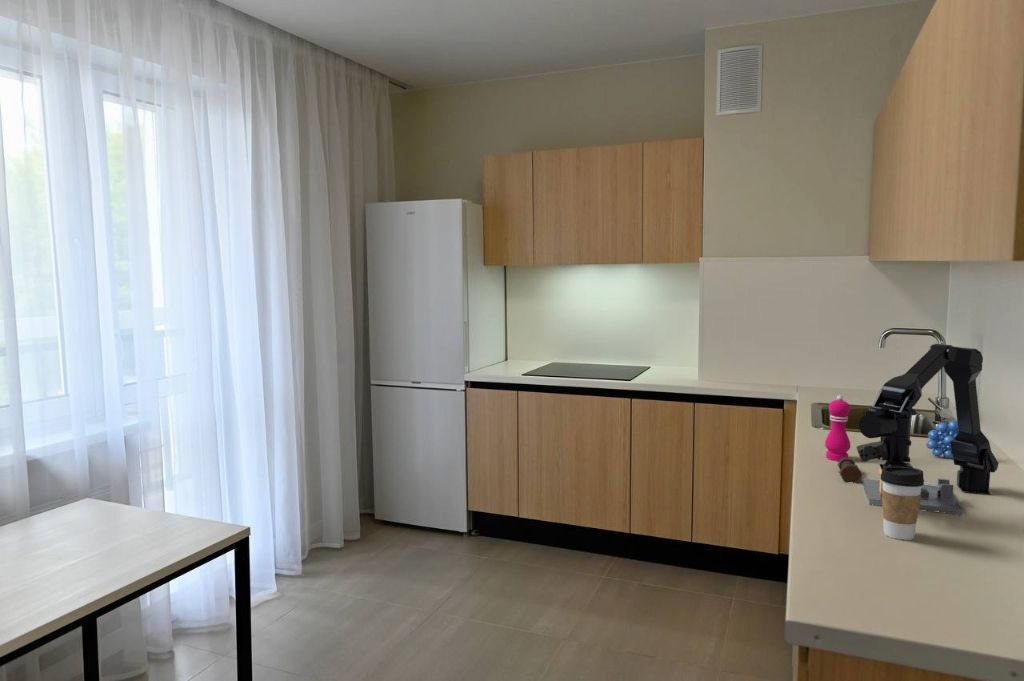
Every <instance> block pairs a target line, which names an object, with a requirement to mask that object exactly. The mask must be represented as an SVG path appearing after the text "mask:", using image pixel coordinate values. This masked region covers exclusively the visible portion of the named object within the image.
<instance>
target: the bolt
mask: <svg viewBox="0 0 1024 681" xmlns="http://www.w3.org/2000/svg"><path fill="white" fill-rule="evenodd" d="M837 467H838V468H839V471H838V473H839V475H840V478H842V480H843V482H844V481H845V482H844V483H848V482H853V483H852V484H857V483H858V482H859V481H860V479H862V477H863V474H862V471H861V470H860V468H859V466H858V465H857V464H856V462H854V459H853V458H851V457H848V458H846V457H844V458H841V460H840V461H838V463H837Z"/></svg>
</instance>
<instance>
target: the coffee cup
mask: <svg viewBox="0 0 1024 681" xmlns="http://www.w3.org/2000/svg"><path fill="white" fill-rule="evenodd" d="M880 479H881V480H882V484H883V487H882V505H883V506H882V519H883V521H882V522H883V534H884V535H885V536H886V535H887V536H886V537H888V536H889V538H891V537H892V538H891V539H894V538H898V539H897V540H899V539H911V540H913V539H914V538H915V535H916V534H915V533H916V526H917V522H918V516H919V511H920V510H919V505H920V500H921V487H922V485H924V481H925V478H924V471H923V470H922V469H920V468H915V467H913V468H909V467H884V468H883V469H882V473H881V478H880V477H879V480H880Z"/></svg>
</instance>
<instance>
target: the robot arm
mask: <svg viewBox="0 0 1024 681" xmlns="http://www.w3.org/2000/svg"><path fill="white" fill-rule="evenodd" d="M983 360H984V357H983V354H982V352H981V351H980V350H978V348H972V347H971V348H970V347H961V346H953V345H951V344H943V343H934V344H931V345H930V346H929V348H928V351H927V352H926V353H925V354H924V355H923V356H922V357H921V358H920V359H918V360H917V361H916V363H914V364H913V365H912V366H911V367H910V368H909V369H908V370H907V371H906V372H905V373H904V374H901V375H899V376H894V377H892V378H891V379H889V380H888V381H886V382H885V383H883V385H882V387H881V389H880V390H879V391H878V393H877V396H876V398H874V399H875V400H874V402H873V403H872V405H871V408H868V409H867V413H866V414H864V415H863V416H862V417H861V418H860V420H859V421H858V428H859V431H860V433H861V434H862V436H864V437H866V438H868V439H877V438H880V440H878V441H875V442H874V441H873V442H868V443H864V444H860V445H857V446H856V450H857V454H858V456H859V459H860V462H861V463H867V462H868V461H872V460H876V459H877V460H878V461H880V460H882V461H883V463H880V464H878V465H879V467H880V469H883V468H884V467H909V468H914V466H913V465H912V464H911V457H910V446H912V441H911V432H912V431H911V428H912V417H913V416H917V414H918V413H917V411H916V410H915V409H914V407H916V405H917V403H918V401H919V400H920V399H921V397H922V396H923V392H922V391H923V390H922V389H923V388H924V387H925V386H926V385H927V383H929V381H931V380H932V379H933V378H934V377H935V376H936V375H937V374H938V372H940V371H941V370H942V369H943V370H944V372H945V374H946V375H947V376H948V377H949V379H950V380H951V382H952V384H953V395H954V403H955V414H956V421H957V423H958V434H957V435H956V437H955V438H954V439H953V440H951V442H950V443H951V448H952V451H951V454H952V455H953V457H952V461H953V464H954V466H959V469H958V470H957V473H956V486H957V487H958V488H959V490H960V491H961V492H963V493H971V494H979V495H989V496H990V495H991V494H992V492H991V491H990V482H991V480H990V479H991V473H996V471H998V466H999V463H1000V462H999V461H998V459H997V458H996V457H995V455H994V453H993V452H992V449H991V444H990V440H989V439H988V438H987V436H985V434H984V433H983V432H982V430H981V420H980V410H979V401H978V400H979V399H978V390H977V381H976V380H977V378H978V376H980V373H981V372H982V370H983V363H984V362H983Z"/></svg>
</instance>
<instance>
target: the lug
mask: <svg viewBox="0 0 1024 681" xmlns="http://www.w3.org/2000/svg"><path fill="white" fill-rule="evenodd" d="M878 473H879V474H880V475H879V481H880V489H879V491H880V493H881V494H882V487H883V484H882V480H881V479H880V478H881V473H882V469H881V468H878Z"/></svg>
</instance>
